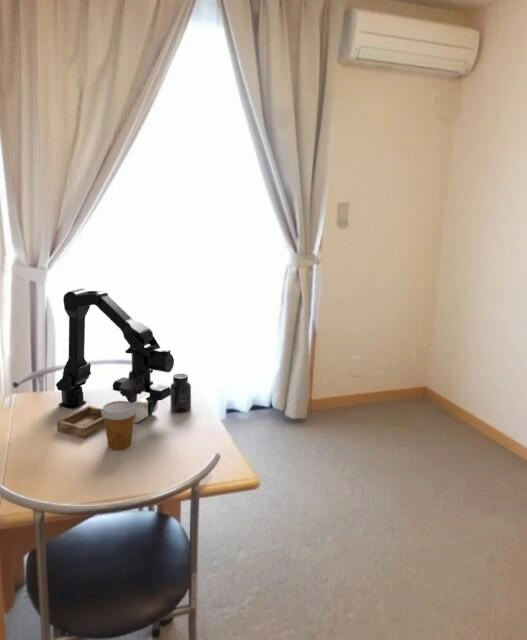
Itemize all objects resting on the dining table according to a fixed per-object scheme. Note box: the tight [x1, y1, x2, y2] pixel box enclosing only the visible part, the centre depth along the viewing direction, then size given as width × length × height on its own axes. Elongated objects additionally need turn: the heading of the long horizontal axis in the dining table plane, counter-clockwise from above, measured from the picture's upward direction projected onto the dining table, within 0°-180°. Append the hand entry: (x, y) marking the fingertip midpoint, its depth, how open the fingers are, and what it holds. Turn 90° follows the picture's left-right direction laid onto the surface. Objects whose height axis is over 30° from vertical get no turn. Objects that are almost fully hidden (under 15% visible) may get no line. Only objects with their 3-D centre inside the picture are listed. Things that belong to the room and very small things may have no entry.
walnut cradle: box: [56, 405, 105, 440], centre depth 172 cm, size 10×14×3 cm
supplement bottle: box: [169, 373, 192, 414], centre depth 186 cm, size 7×7×12 cm
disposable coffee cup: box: [101, 400, 136, 451], centre depth 160 cm, size 10×10×12 cm
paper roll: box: [132, 394, 159, 424], centre depth 179 cm, size 10×6×6 cm, turn 156°
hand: (141, 413), depth 179 cm, fingers closed on paper roll, 6 cm apart
